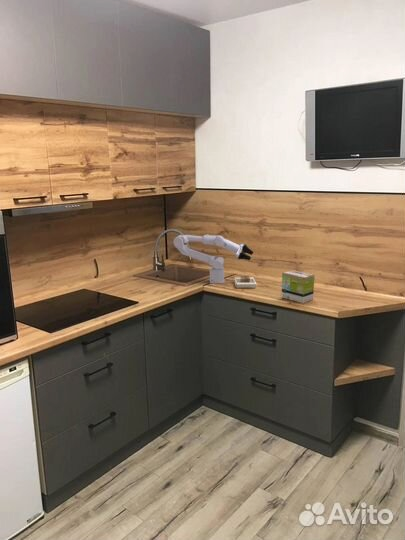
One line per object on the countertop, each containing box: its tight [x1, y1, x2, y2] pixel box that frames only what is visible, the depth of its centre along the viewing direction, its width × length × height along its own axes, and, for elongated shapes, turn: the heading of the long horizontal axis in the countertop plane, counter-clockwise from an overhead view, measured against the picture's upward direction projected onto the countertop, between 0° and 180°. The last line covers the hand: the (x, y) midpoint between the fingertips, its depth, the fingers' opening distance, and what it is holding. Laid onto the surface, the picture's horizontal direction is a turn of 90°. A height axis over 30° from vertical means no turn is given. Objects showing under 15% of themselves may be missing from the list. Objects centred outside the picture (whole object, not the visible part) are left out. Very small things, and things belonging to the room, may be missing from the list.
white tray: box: [234, 276, 258, 289], centre depth 285 cm, size 12×17×4 cm
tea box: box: [281, 269, 315, 304], centre depth 256 cm, size 15×10×15 cm
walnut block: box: [240, 275, 250, 283], centre depth 285 cm, size 5×8×5 cm, turn 1°
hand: (251, 256), depth 289 cm, fingers open, 7 cm apart
